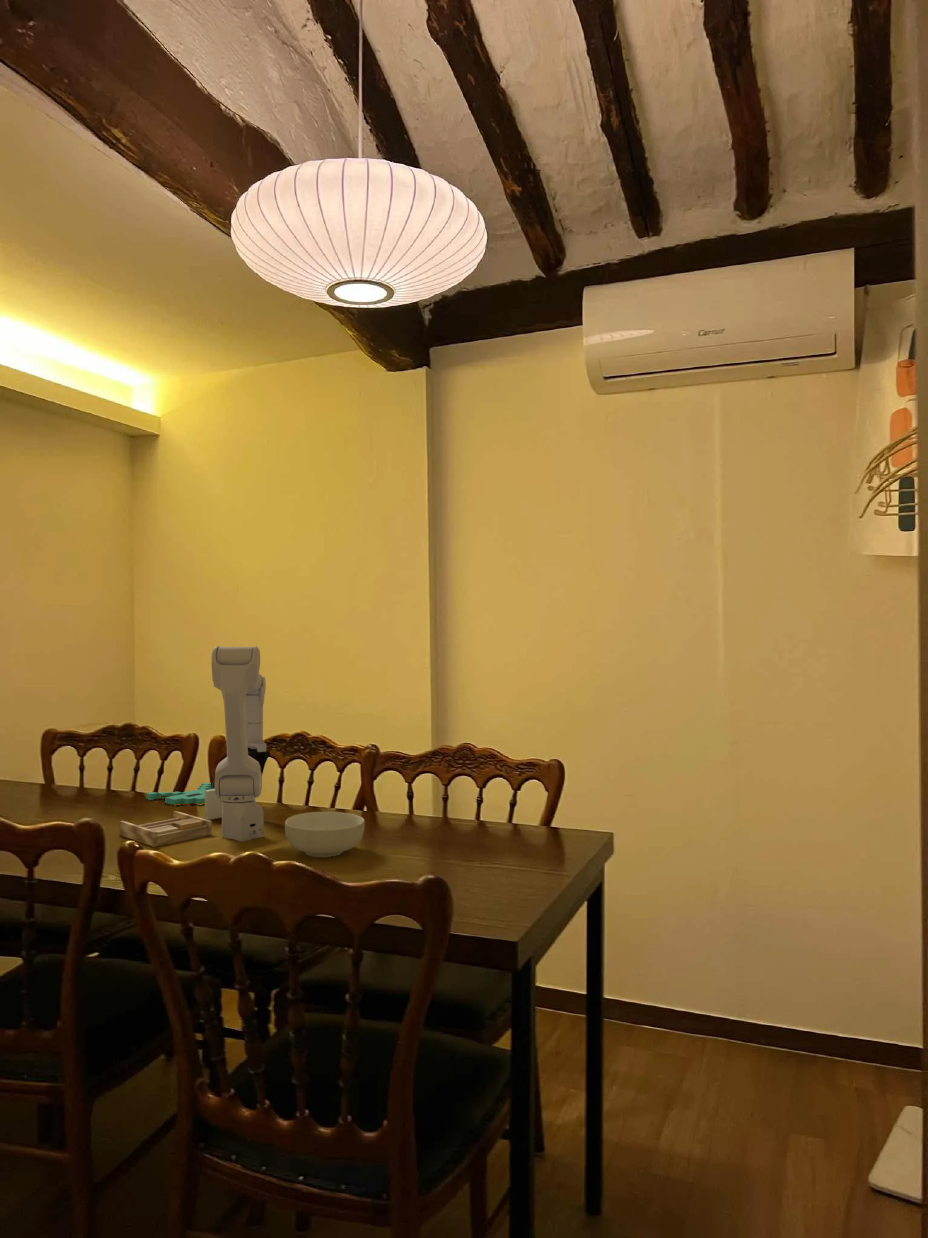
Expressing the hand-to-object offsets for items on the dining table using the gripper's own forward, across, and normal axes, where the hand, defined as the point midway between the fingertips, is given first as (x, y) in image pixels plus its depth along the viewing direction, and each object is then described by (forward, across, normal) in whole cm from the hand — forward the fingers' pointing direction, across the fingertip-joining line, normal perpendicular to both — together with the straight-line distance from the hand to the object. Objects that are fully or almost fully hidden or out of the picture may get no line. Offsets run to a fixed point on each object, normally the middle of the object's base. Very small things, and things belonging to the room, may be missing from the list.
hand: (250, 777), depth 209 cm
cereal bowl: (+11, +38, +1) cm, 39 cm away
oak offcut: (+9, +10, -19) cm, 24 cm away
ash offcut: (+9, +12, -25) cm, 29 cm away
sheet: (+10, -3, -6) cm, 12 cm away
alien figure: (+11, -32, -2) cm, 33 cm away
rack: (+10, +7, -23) cm, 26 cm away
